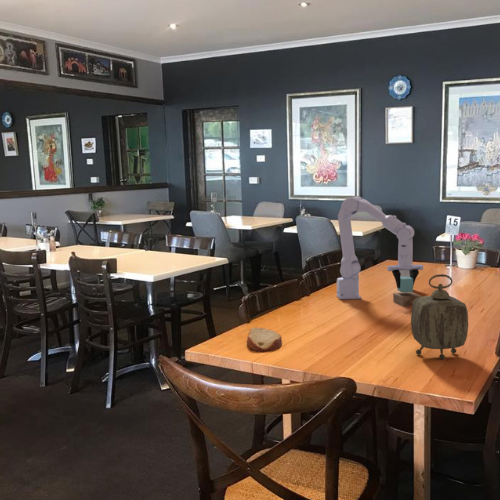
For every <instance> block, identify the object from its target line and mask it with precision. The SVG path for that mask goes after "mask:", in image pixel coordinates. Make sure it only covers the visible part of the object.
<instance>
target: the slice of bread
mask: <svg viewBox="0 0 500 500" xmlns="http://www.w3.org/2000/svg"><path fill="white" fill-rule="evenodd" d="M282 343H283V341H282V334H280V333H277V332H276V330H275V331H274V330H272V329H269V328H264V327H257V326H256V327H251V328H250V329H249V332H248V335H247V338H246V344H247V346H248V347H249V348H250V349H252V350H253V351H255V352H259V353H267V352H273V351H274V350H276V349H278V348H280V347H281V346H282Z"/></svg>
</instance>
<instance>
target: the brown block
mask: <svg viewBox="0 0 500 500" xmlns="http://www.w3.org/2000/svg"><path fill="white" fill-rule="evenodd" d="M392 296H393V299H392V300H393V303H394V304H397V305H399V306H401V307H410V306H412V305H413V303H414V300H415V299H417V298H419V297H422V296H421V295H419V294H417V293H415V292H394V293H393V295H392Z"/></svg>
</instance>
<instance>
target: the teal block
mask: <svg viewBox="0 0 500 500" xmlns="http://www.w3.org/2000/svg"><path fill="white" fill-rule="evenodd" d="M396 288H397V287H396ZM396 290H397V291H398V292H399V293H404V292H412V293H414V286H413V279H412V278H411V277H400V288H397V289H396Z"/></svg>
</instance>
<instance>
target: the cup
mask: <svg viewBox="0 0 500 500" xmlns="http://www.w3.org/2000/svg"><path fill="white" fill-rule="evenodd" d="M400 273H401V276H400V277H410V272H409V270H402V271H400Z"/></svg>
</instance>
